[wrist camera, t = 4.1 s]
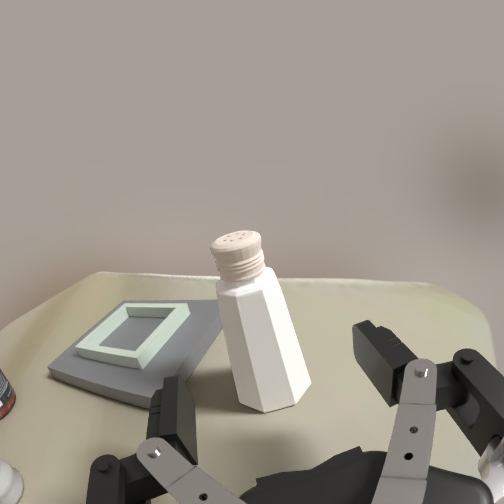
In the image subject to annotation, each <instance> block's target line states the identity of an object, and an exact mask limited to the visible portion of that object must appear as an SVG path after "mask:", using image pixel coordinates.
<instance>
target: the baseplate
mask: <svg viewBox="0 0 504 504" xmlns="http://www.w3.org/2000/svg"><path fill="white" fill-rule="evenodd" d="M222 328H223V325H222V321H221V316H220V311H219V306H218V300H174V301H123V302H121V303H120V304H119V305H118V306H117V307H115V308H114V309H113V310H112V311H111V312H109V313H108V314H107V315H106V316H105V317H104V318H102V319H101V320H100V321H99V322H98V323H97V324H95V325H94V326H93V327H92V328H91V329H90V330H88V331H87V332H86V333H85V334H84V335H83V336H81V337H80V338H79V339H78V340H77V341H76V342H75V343H73V344H72V345H71V346H70V347H69V348H68V349H67V350H66V351H64V352H63V353H62V354H61V355H60V356H59V357H58V358H57V359H55V360H54V361H53V362H52V363H51V364H50V365H49V366H48V369H49V371H50V372H51V374H52V375H53V377H54V378H55V379H57V380H60V381H63V382H65V383H68V384H70V385H73V386H76V387H79V388H81V389H84V390H87V391H90V392H93V393H96V394H99V395H102V396H105V397H108V398H112V399H115V400H118V401H122V402H125V403H129V404H132V405H136V406H140V407H143V408H147V409H150V402H151V397H152V396H153V394H154V393H155V391H156V390H158V389H163V380H164V377H168V376H173V375H177V374H180V375H181V376H182V378H183V380H184V382H186V381H187V380H188V378H189V377H190V375H191V374H192V372H193V371H194V369H195V368H196V366H197V365H198V363H199V362H200V360H201V359H202V358H203V356H204V355H205V353H206V352H207V350H208V349H209V347H210V346H211V344H212V343H213V341H214V340H215V338H216V337H217V335H218V334H219V332H220V331H221V329H222Z"/></svg>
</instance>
